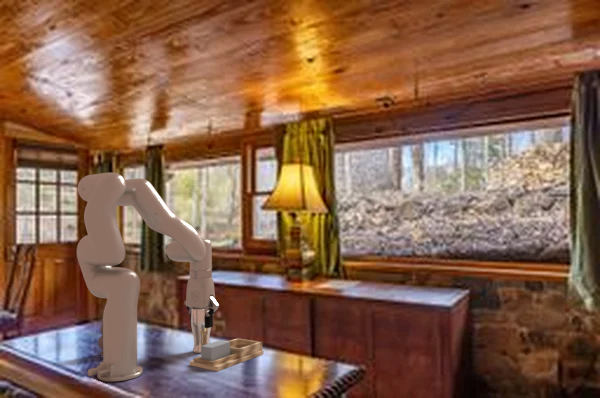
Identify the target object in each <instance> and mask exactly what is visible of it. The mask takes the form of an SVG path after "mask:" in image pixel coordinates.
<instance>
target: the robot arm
mask: <svg viewBox="0 0 600 398" xmlns="http://www.w3.org/2000/svg"><path fill="white" fill-rule="evenodd" d="M77 191H78V192H77V193H78V196H79V197H80V198H81V199H82V200H83V201H84V202H85V201H86V202H87V203H86V206H85V208H84V213H83V221H84V226H85V228H86V232H87V235H85V236H83V237H82V238H81V239H80V240H79V242H78V244H77V247H76V258H77V261H78V265H79V267H80V271H81V273H82V276H83V280H84V281H85V285H86V287H87V289H88V291H89V292H90V294H92V295H93V296H94V297H96V298H101V299H107V300H106V304H105V306H104V310H103V315H102V320H103V358H102V359H103V360H102V361H100V362H99V365H98V366H97V367H93V368H90V369H88V370H87V375H88V377H93V376H95V375H97V379H98V380H100V381H103V382H121V381H128V380H132V379H135V378H138V377H141V375H142V374H143V372H144V370H143V367H141V366H139V365H138V301H139V297H140V291H141V280H140V276H139V274H138V273H136V272H135V271H134V270H132V269H130V268H127V267H121V266H120V267H117V266H118V265H119V264H121V263H122V262H123V261H124V260H125V257H126V247H125V244H124V243H125V242H124V241H123V237H122V234H121V231H120V228H119V225H118V221H117V217H116V213H117V207H129V206H130V207H133V208H134V209H135V211H136V212H137V213H138V214H139V216H140V217H141V219H142V220H143V222H145V224H146V225H147V226H148V227H149V229H151V230H152V231H155V232H157V233H159V234H161V235H164V236H167V237H168V238H171V239H173V240H172V241H171V242H170V243H168V245H167V246H166V249H165V250H166V256H167V257H168V258H169V259H170V260H172V261H173V262H179V263H189V272H188V273H189V274H188V275H189V278H188V279H187V280H188V281H187V284H186V295H185V296H186V297H185V299H186V300H185V301H183V302H184V305H185V307H186V309H187V311H188V315H189V319H190V320H189V324H190V325H189V326H190V327H192V326H191V311H192V308H200V309H204V310H205V313H206V316H205V328H210V327H211V328H213V327H214V315H215V313H216V312H217V311H218V309H219V307H220V304H219V303H218V302H217V300H216V295H215V294H216V293H215V291H216V290H215V283H214V279H213V273H212V272H213V270H212V269H213V264H212V263H213V262H212V261H213V260H212V259H213V258H212V257H213V255H212V254H213V253H212V252H213V251H212V250H213V249H212V241H211V240H210V239H207V238H201V235H200V234H199V232H197V230H196V229H195V228H194V227H193V226H192V225H190V224H189V223H188V222H186V221H185V220H184V219H183V218H181V217H180V216H178V215H177V214H175V213H174V212H172V210H171V209H170V208H169V206H168V204H167V203H165V201H164V199H163V198H162V197H161V195H160V194H159V193H158V191H157V190H156V188H155V187H154V186H153V183H151V182H150V181H148V180H147V179H144V178H130V179H129V178H128V179H125V178H124V177H123V176H122V175H121V174H119V173H117V172H102V173H101V172H100V173H94V174H88V175H86V176H83V177H82V178H81V179H80V180H79V182H78V185H77ZM208 309H209V310H210V311H209V310H208Z"/></svg>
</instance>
